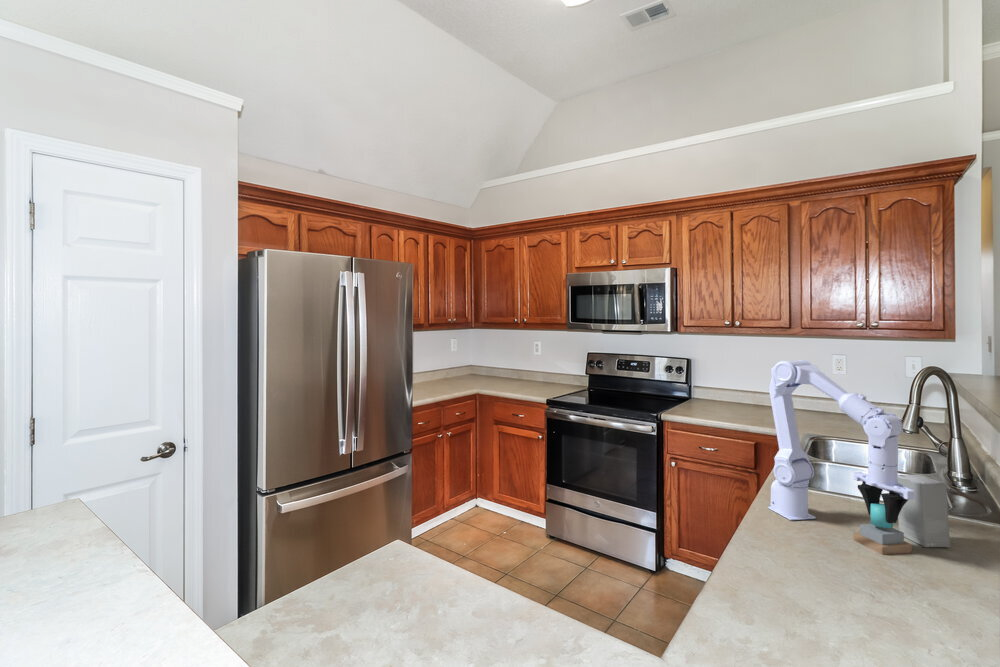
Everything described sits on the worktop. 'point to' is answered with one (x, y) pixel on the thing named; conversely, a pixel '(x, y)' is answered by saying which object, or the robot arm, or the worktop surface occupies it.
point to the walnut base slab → (880, 548)
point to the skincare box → (925, 512)
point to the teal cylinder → (879, 516)
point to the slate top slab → (882, 534)
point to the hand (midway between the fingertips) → (882, 518)
